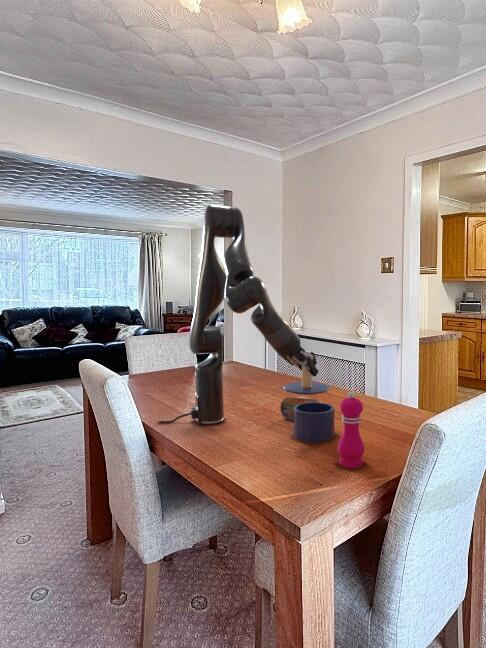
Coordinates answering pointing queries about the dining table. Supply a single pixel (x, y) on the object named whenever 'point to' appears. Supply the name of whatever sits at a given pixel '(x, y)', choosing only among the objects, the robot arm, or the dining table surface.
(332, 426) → the can
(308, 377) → the lid
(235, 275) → the robot arm
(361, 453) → the pepper mill
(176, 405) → the dining table surface
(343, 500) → the dining table surface
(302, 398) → the tin
